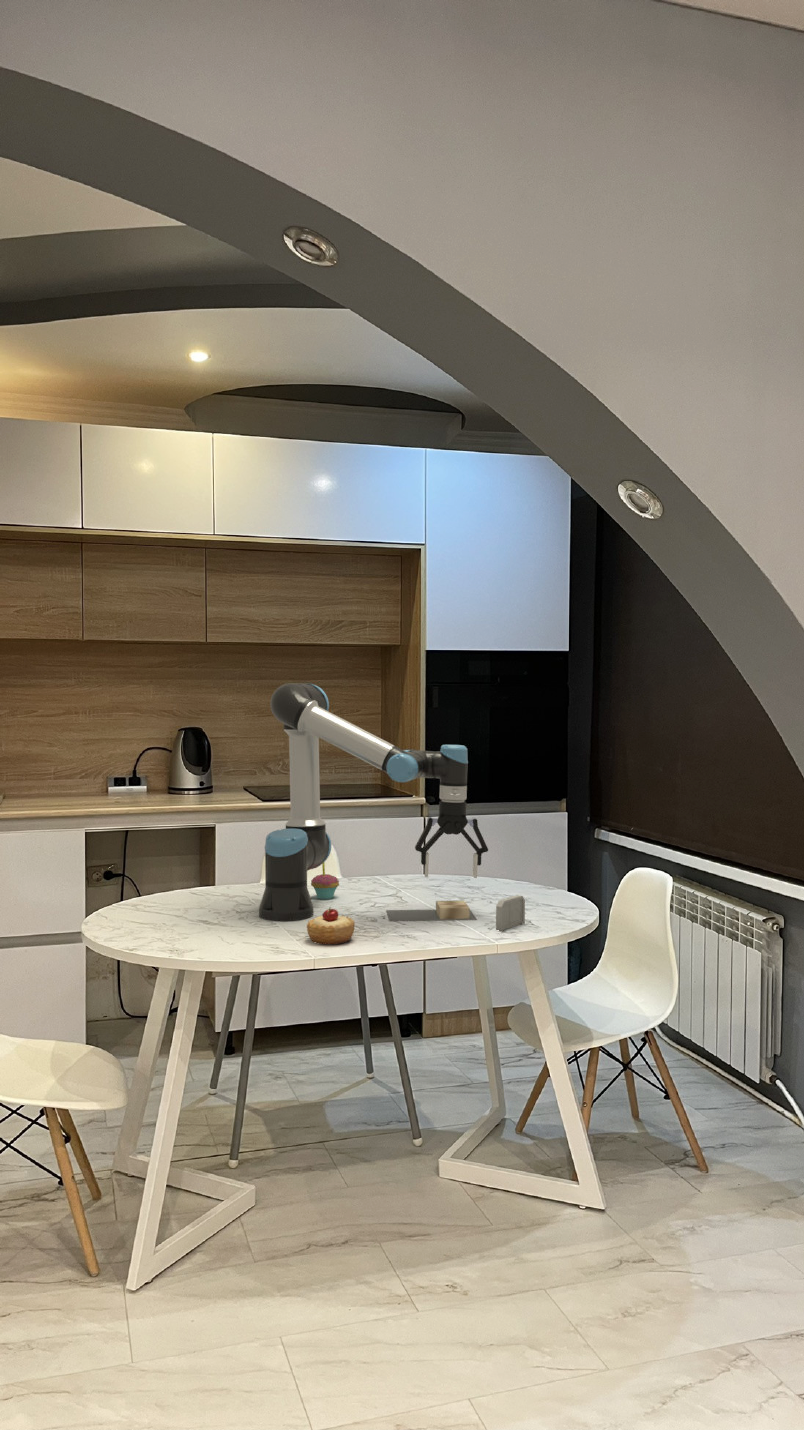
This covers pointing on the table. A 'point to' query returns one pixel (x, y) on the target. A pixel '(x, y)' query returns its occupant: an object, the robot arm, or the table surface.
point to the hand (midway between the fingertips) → (450, 876)
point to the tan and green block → (452, 909)
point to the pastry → (330, 928)
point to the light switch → (510, 912)
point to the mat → (420, 915)
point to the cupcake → (325, 885)
